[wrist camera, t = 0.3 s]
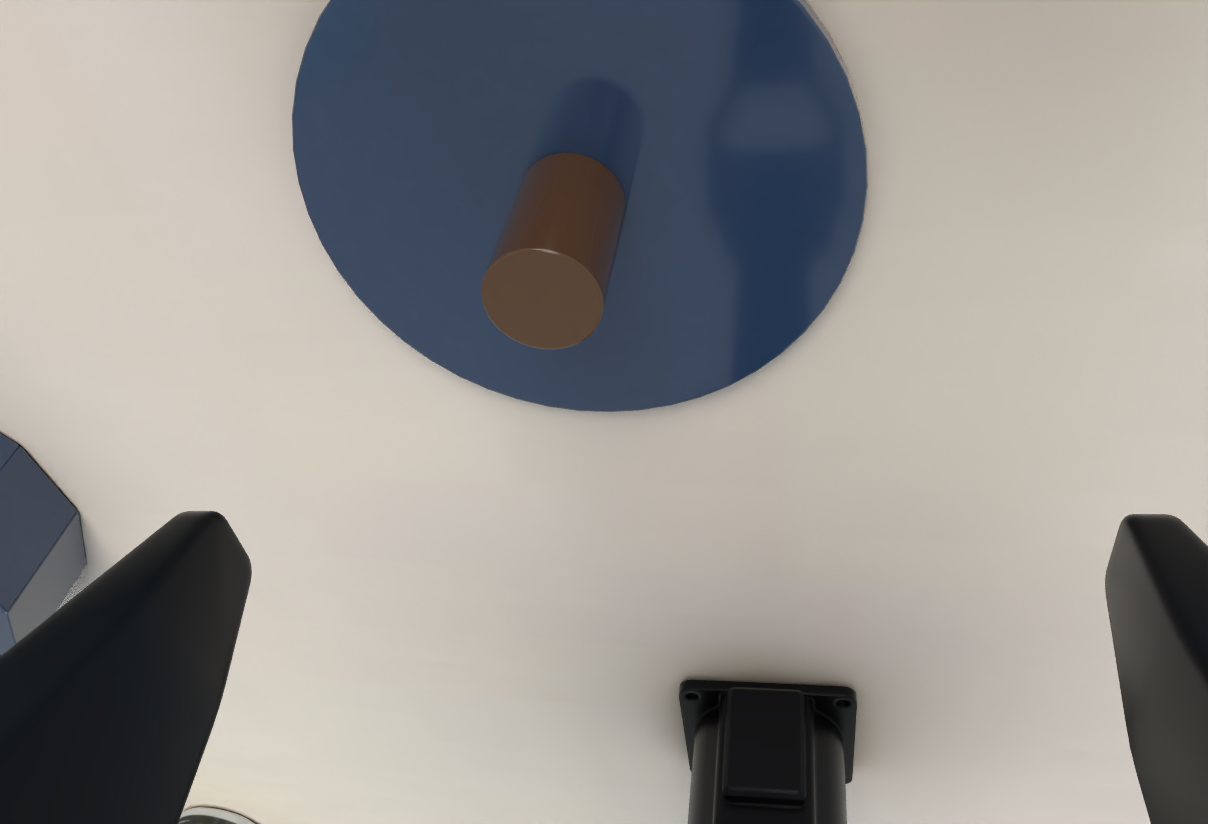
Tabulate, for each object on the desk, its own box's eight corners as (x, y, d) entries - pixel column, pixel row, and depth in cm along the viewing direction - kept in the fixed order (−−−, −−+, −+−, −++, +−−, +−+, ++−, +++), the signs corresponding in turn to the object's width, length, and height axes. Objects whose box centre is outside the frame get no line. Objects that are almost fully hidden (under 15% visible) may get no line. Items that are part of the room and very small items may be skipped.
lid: (856, 396, 27) (865, 523, 24) (389, 400, 30) (338, 515, 27) (880, -158, 18) (900, -79, 15) (210, -83, 21) (100, -1, 18)
